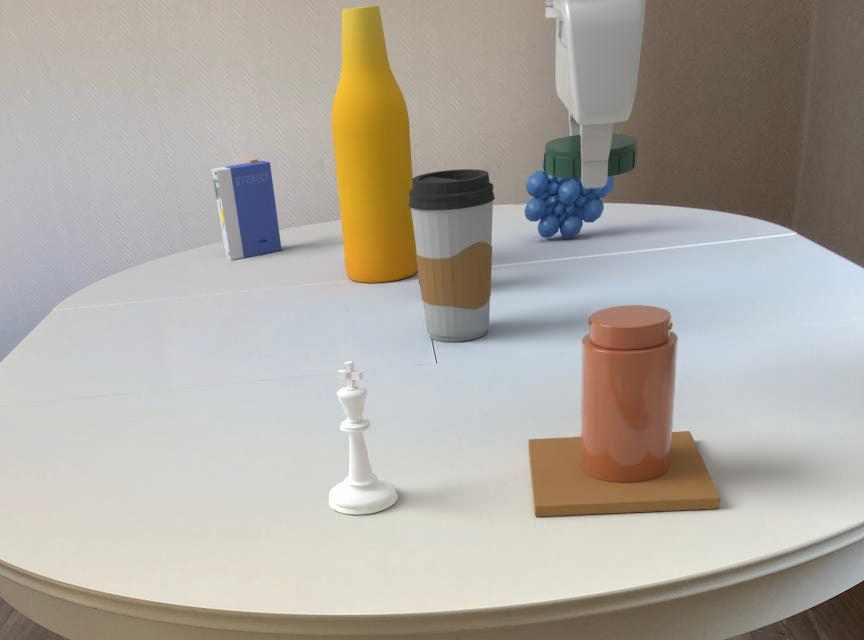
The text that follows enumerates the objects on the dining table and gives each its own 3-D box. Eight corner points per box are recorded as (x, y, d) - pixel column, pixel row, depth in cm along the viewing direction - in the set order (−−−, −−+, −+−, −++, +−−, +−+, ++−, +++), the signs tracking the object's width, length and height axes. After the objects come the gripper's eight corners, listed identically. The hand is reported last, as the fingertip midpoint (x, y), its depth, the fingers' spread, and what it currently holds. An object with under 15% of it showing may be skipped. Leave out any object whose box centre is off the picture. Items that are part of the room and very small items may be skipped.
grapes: (608, 228, 145) (610, 132, 138) (615, 238, 139) (618, 138, 133) (522, 235, 146) (521, 139, 139) (526, 245, 140) (524, 146, 134)
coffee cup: (463, 317, 113) (456, 166, 105) (515, 330, 107) (512, 171, 99) (401, 335, 109) (389, 180, 102) (452, 350, 104) (443, 187, 96)
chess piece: (376, 519, 73) (362, 377, 67) (316, 509, 75) (297, 371, 69) (409, 490, 76) (398, 353, 71) (351, 482, 78) (336, 348, 73)
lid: (538, 179, 77) (538, 152, 76) (551, 160, 82) (551, 135, 81) (631, 177, 75) (633, 150, 74) (639, 157, 80) (640, 131, 79)
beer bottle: (335, 284, 131) (306, 13, 116) (360, 265, 138) (336, 9, 123) (406, 283, 128) (386, 5, 113) (428, 264, 135) (412, 1, 120)
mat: (689, 440, 79) (690, 430, 79) (719, 508, 69) (720, 497, 69) (528, 448, 81) (528, 439, 80) (535, 517, 71) (535, 506, 70)
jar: (663, 446, 77) (671, 300, 71) (676, 480, 72) (686, 325, 66) (576, 450, 78) (578, 306, 72) (584, 485, 72) (586, 332, 67)
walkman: (274, 247, 153) (262, 157, 147) (281, 250, 151) (269, 159, 145) (223, 257, 150) (209, 166, 144) (230, 260, 148) (215, 168, 142)
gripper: (537, -37, 80) (538, 160, 88) (555, -40, 63) (554, 205, 70) (621, -46, 80) (615, 154, 87) (662, -51, 63) (650, 198, 70)
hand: (588, 177), depth 79 cm, fingers closed on lid, 6 cm apart
